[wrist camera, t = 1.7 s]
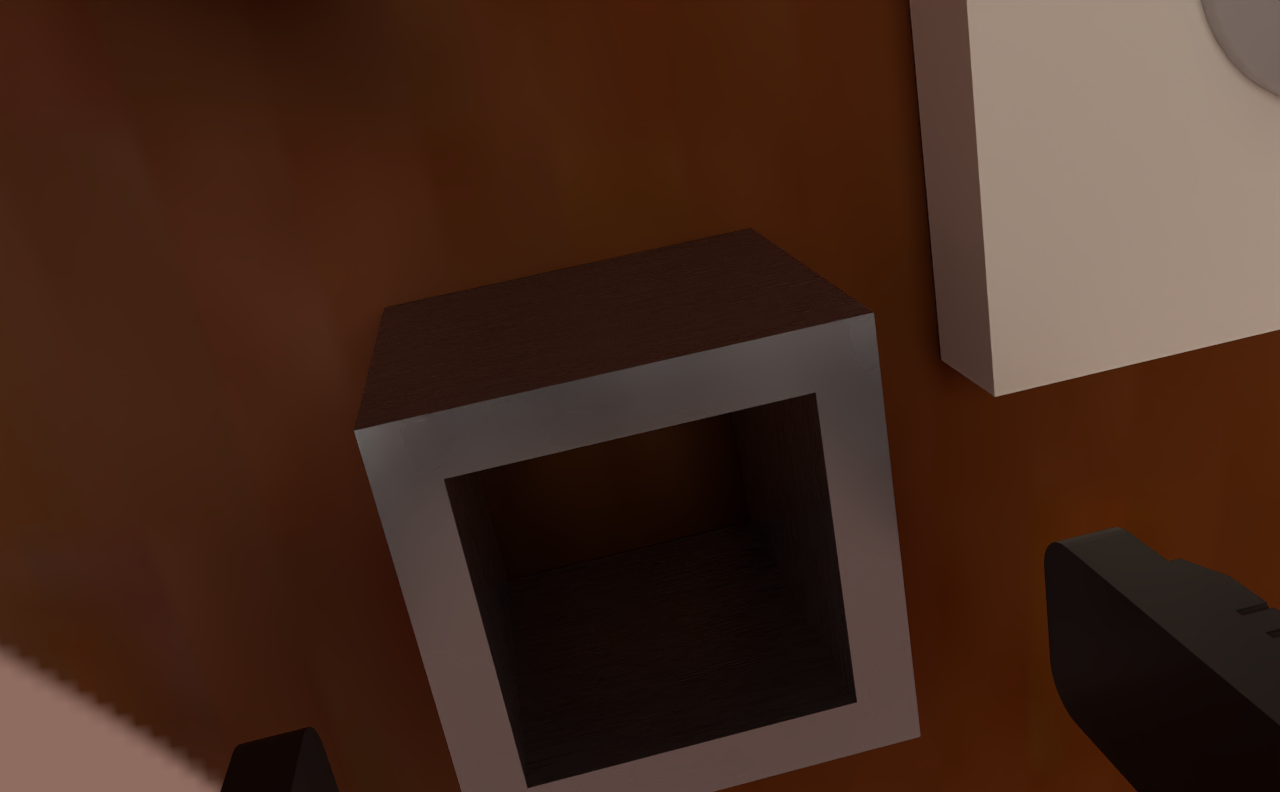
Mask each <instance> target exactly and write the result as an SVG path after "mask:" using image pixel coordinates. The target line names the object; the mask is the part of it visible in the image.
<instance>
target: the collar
mask: <svg viewBox="0 0 1280 792" xmlns="http://www.w3.org/2000/svg"><path fill="white" fill-rule="evenodd" d="M729 412H732V416H733V422H734V428H735V434H736V440H737V446H738V452H739V458H740V465H741V471H742V477H743V483H744V489H745V495H746V501H747V507H748V513H749V519H750V522H747V523H743V524H739V525H735V526H731V527H727V528H723V529H718V530H714V531H710V532H706V533H702V534H698V535H694V536H690V537H686V538H681V539H677V540H673V541H669V542H665V543H661V544H657V545H653V546H648V547H644V548H640V549H636V550H632V551H628V552H624V553H620V554H616V555H611V556H607V557H603V558H599V559H595V560H591V561H587V562H583V563H579V564H574V565H570V566H566V567H562V568H558V569H554V570H550V571H546V572H541V573H537V574H533V575H529V576H525V577H521V578H517V579H513V580H509V581H508V580H507V576H506V572H505V568H504V564H503V561H502V557H501V553H500V549H499V545H498V541H497V537H496V533H495V530H494V526H493V522H492V518H491V514H490V510H489V506H488V502H487V499H486V495H485V491H484V487H483V483H482V479H481V475H480V470H485V469H489V468H493V467H498V466H502V465H506V464H510V463H515V462H519V461H523V460H528V459H532V458H536V457H540V456H545V455H549V454H553V453H558V452H562V451H566V450H570V449H575V448H579V447H583V446H588V445H592V444H596V443H600V442H605V441H609V440H613V439H618V438H622V437H626V436H631V435H635V434H639V433H643V432H648V431H652V430H656V429H661V428H665V427H669V426H673V425H678V424H682V423H686V422H691V421H695V420H699V419H703V418H708V417H712V416H716V415H721V414H725V413H729ZM354 432H355V436H356V439H357V442H358V446H359V449H360V452H361V456H362V459H363V462H364V466H365V469H366V473H367V476H368V479H369V483H370V486H371V489H372V493H373V496H374V499H375V503H376V506H377V509H378V513H379V516H380V519H381V523H382V526H383V530H384V533H385V536H386V540H387V543H388V546H389V550H390V553H391V556H392V560H393V563H394V566H395V570H396V573H397V576H398V580H399V583H400V586H401V590H402V593H403V597H404V600H405V603H406V607H407V610H408V613H409V617H410V620H411V623H412V627H413V630H414V633H415V637H416V640H417V643H418V647H419V650H420V654H421V657H422V660H423V664H424V667H425V670H426V674H427V677H428V680H429V684H430V687H431V690H432V694H433V697H434V700H435V704H436V707H437V711H438V714H439V717H440V721H441V724H442V727H443V731H444V734H445V737H446V741H447V744H448V747H449V751H450V754H451V757H452V761H453V764H454V768H455V771H456V774H457V778H458V781H459V784H460V788H461V791H462V792H714V791H718V790H721V789H725V788H729V787H733V786H736V785H740V784H744V783H748V782H751V781H755V780H759V779H763V778H767V777H770V776H774V775H778V774H782V773H785V772H789V771H793V770H797V769H800V768H804V767H808V766H812V765H815V764H819V763H823V762H827V761H831V760H834V759H838V758H842V757H846V756H849V755H853V754H857V753H861V752H864V751H868V750H872V749H876V748H880V747H883V746H887V745H891V744H895V743H898V742H902V741H906V740H910V739H913V738H917V737H921V736H920V727H919V718H918V709H917V700H916V691H915V682H914V672H913V663H912V654H911V645H910V636H909V627H908V618H907V609H906V600H905V591H904V582H903V573H902V564H901V554H900V545H899V536H898V527H897V518H896V509H895V500H894V491H893V482H892V473H891V464H890V455H889V446H888V436H887V427H886V418H885V409H884V400H883V391H882V382H881V373H880V364H879V355H878V346H877V337H876V328H875V319H874V312H872V311H871V310H869V309H868V308H866V307H865V306H864V305H862V304H861V303H859V302H858V301H856V300H855V299H853V298H852V297H850V296H849V295H848V294H846V293H845V292H843V291H842V290H840V289H839V288H837V287H836V286H834V285H833V284H831V283H830V282H829V281H827V280H826V279H824V278H823V277H821V276H820V275H818V274H817V273H815V272H814V271H813V270H811V269H810V268H808V267H807V266H805V265H804V264H802V263H801V262H799V261H798V260H797V259H795V258H794V257H792V256H791V255H789V254H788V253H786V252H785V251H783V250H782V249H780V248H779V247H778V246H776V245H775V244H773V243H772V242H770V241H769V240H767V239H766V238H764V237H763V236H762V235H760V234H759V233H757V232H756V231H754V230H753V229H751V228H750V229H746V230H741V231H737V232H732V233H727V234H723V235H718V236H714V237H709V238H704V239H700V240H695V241H691V242H686V243H681V244H677V245H672V246H668V247H663V248H658V249H654V250H649V251H645V252H640V253H635V254H631V255H626V256H622V257H617V258H612V259H608V260H603V261H599V262H594V263H589V264H585V265H580V266H576V267H571V268H567V269H562V270H557V271H553V272H548V273H544V274H539V275H534V276H530V277H525V278H521V279H516V280H511V281H507V282H502V283H498V284H493V285H488V286H484V287H479V288H475V289H470V290H465V291H461V292H456V293H452V294H447V295H442V296H438V297H433V298H429V299H424V300H419V301H415V302H410V303H406V304H401V305H396V306H392V307H387V308H384V312H383V316H382V320H381V324H380V328H379V332H378V336H377V340H376V344H375V348H374V352H373V356H372V360H371V364H370V368H369V372H368V376H367V380H366V384H365V388H364V392H363V396H362V401H361V405H360V409H359V413H358V417H357V421H356V425H355V429H354Z"/></svg>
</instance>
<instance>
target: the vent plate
mask: <svg viewBox="0 0 1280 792" xmlns="http://www.w3.org/2000/svg"><path fill="white" fill-rule="evenodd" d="M909 1H910V13H911V24H912V35H913V46H914V58H915V69H916V80H917V92H918V103H919V114H920V125H921V137H922V148H923V159H924V170H925V182H926V193H927V204H928V215H929V227H930V238H931V249H932V261H933V272H934V283H935V294H936V306H937V317H938V328H939V339H940V351H941V360H942V361H943V362H945V363H946V364H948V365H949V366H951V367H952V368H954V369H955V370H956V371H958V372H959V373H961V374H962V375H964V376H965V377H967V378H968V379H970V380H971V381H972V382H974V383H975V384H977V385H978V386H980V387H981V388H983V389H984V390H986V391H987V392H988V393H990V394H991V395H993V396H994V397H997V396H1001V395H1005V394H1009V393H1014V392H1018V391H1022V390H1026V389H1030V388H1035V387H1039V386H1043V385H1047V384H1051V383H1056V382H1060V381H1064V380H1068V379H1073V378H1077V377H1081V376H1085V375H1089V374H1094V373H1098V372H1102V371H1106V370H1111V369H1115V368H1119V367H1123V366H1127V365H1132V364H1136V363H1140V362H1144V361H1148V360H1153V359H1157V358H1161V357H1165V356H1170V355H1174V354H1178V353H1182V352H1186V351H1191V350H1195V349H1199V348H1203V347H1208V346H1212V345H1216V344H1220V343H1224V342H1229V341H1233V340H1237V339H1241V338H1245V337H1250V336H1254V335H1258V334H1262V333H1267V332H1271V331H1275V330H1279V329H1280V0H909Z"/></svg>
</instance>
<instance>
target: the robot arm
mask: <svg viewBox="0 0 1280 792" xmlns="http://www.w3.org/2000/svg"><path fill="white" fill-rule="evenodd" d="M1044 569H1045V585H1046V600H1047V616H1048V631H1049V647H1050V662H1051V669H1052V674H1053V678H1054V682H1055V685H1056V688H1057V691H1058V693H1059V696H1060V698H1061V700H1062V702H1063V704H1064V706H1065V708H1066V710H1067V712H1068V713H1069V715H1070V716H1071V718H1072V719H1073V720H1074V721H1075V723H1076V724H1077V725H1078V726H1079V727H1080V728H1081V729H1082V731H1083V732H1084V733H1085V734H1086V735H1087V736H1088V737H1089V738H1090V739H1091V741H1092V742H1093V743H1094V744H1095V745H1096V746H1097V747H1098V748H1099V749H1100V751H1101V752H1102V753H1103V754H1104V755H1105V756H1106V757H1107V758H1108V759H1109V760H1110V762H1111V763H1112V764H1113V765H1114V766H1115V767H1116V768H1117V769H1118V770H1119V772H1120V773H1121V774H1122V775H1123V776H1124V777H1125V778H1126V779H1127V780H1128V782H1129V783H1130V784H1131V785H1132V786H1133V787H1134V788H1135V789H1136V790H1137V792H1280V611H1278V610H1277V609H1276V608H1271V609H1269V607H1268V606H1267V602H1266V601H1264V600H1263V599H1261V598H1260V597H1258V596H1257V595H1255V594H1254V593H1253V592H1251V591H1250V590H1248V589H1247V588H1245V587H1244V586H1243V585H1241V584H1240V583H1238V582H1237V581H1235V580H1234V579H1232V578H1231V577H1230V576H1227V575H1224V574H1221V573H1219V572H1216V571H1213V570H1210V569H1207V568H1205V567H1202V566H1199V565H1196V564H1193V563H1191V562H1188V561H1185V560H1182V559H1176V560H1172V561H1167V560H1166V559H1164V558H1163V557H1162V556H1160V555H1159V554H1158V553H1156V552H1155V551H1154V550H1152V549H1151V548H1149V547H1148V546H1147V545H1145V544H1144V543H1143V542H1141V541H1140V540H1139V539H1137V538H1136V537H1135V536H1133V535H1132V534H1130V533H1129V532H1128V531H1126V530H1124V529H1122V528H1119V527H1113V528H1109V529H1105V530H1101V531H1097V532H1093V533H1089V534H1086V535H1082V536H1078V537H1074V538H1070V539H1066V540H1062V541H1058V542H1054V543H1051V544H1050V545H1049V546H1048V548H1047V549H1046V553H1045V559H1044ZM221 792H339V790H338V787H337V784H336V782H335V779H334V776H333V773H332V770H331V767H330V764H329V761H328V758H327V755H326V752H325V749H324V747H323V744H322V741H321V739H320V737H319V735H318V733H317V732H316V731H315V729H314V728H312V727H307V728H303V729H299V730H295V731H291V732H287V733H283V734H279V735H275V736H271V737H267V738H263V739H259V740H255V741H251V742H247V743H243V744H239V745H238V746H237V747H236V748H235V750H234V752H233V754H232V757H231V761H230V764H229V767H228V770H227V773H226V776H225V779H224V783H223V786H222V789H221Z"/></svg>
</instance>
